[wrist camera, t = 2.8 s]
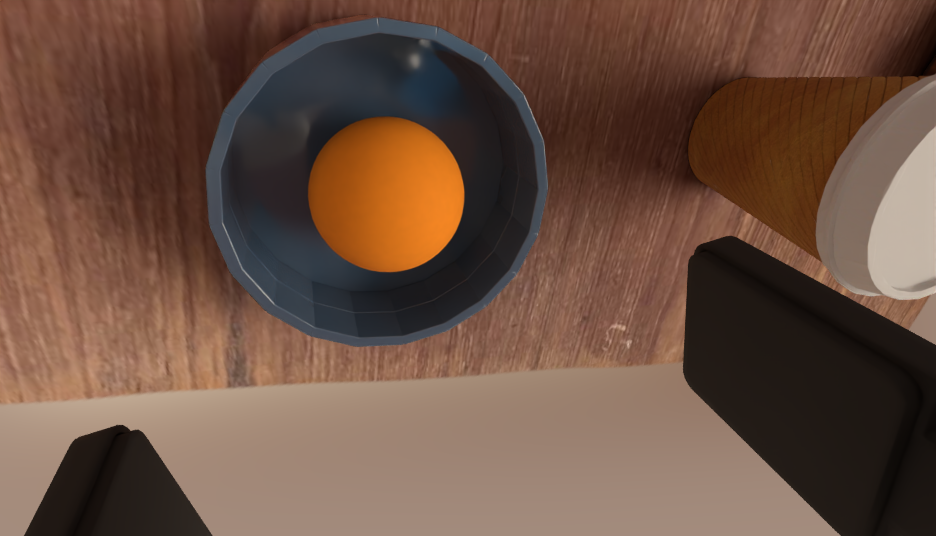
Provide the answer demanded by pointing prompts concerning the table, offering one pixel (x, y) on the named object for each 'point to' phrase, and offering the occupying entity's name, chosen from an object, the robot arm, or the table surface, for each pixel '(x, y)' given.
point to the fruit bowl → (322, 116)
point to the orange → (386, 194)
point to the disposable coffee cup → (832, 171)
